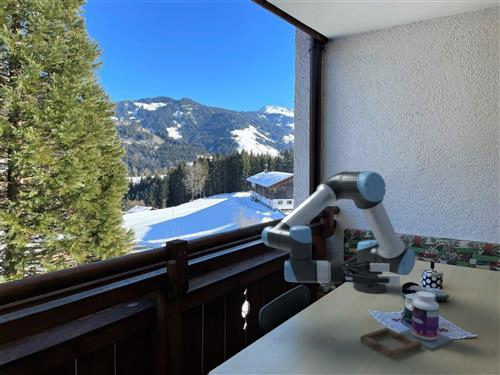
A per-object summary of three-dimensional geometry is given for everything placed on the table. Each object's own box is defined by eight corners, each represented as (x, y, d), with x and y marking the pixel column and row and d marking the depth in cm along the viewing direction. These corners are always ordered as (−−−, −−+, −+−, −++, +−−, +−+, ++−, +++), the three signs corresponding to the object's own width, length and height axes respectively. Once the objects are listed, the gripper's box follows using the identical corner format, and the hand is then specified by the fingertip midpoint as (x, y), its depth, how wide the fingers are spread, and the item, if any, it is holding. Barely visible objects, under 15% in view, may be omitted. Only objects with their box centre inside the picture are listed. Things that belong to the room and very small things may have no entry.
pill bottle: (407, 331, 123) (407, 290, 122) (429, 330, 124) (429, 289, 123) (420, 342, 115) (421, 298, 114) (443, 341, 116) (444, 297, 115)
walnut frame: (360, 342, 117) (360, 336, 117) (386, 332, 124) (386, 327, 123) (394, 360, 106) (394, 353, 106) (421, 348, 112) (421, 342, 112)
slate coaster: (397, 335, 121) (397, 333, 121) (419, 327, 128) (419, 325, 128) (431, 350, 111) (431, 348, 111) (452, 341, 117) (452, 339, 117)
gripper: (327, 271, 135) (385, 273, 132) (332, 295, 111) (404, 297, 107) (327, 252, 135) (385, 253, 132) (332, 272, 110) (404, 273, 107)
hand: (394, 273), depth 119 cm, fingers open, 13 cm apart
